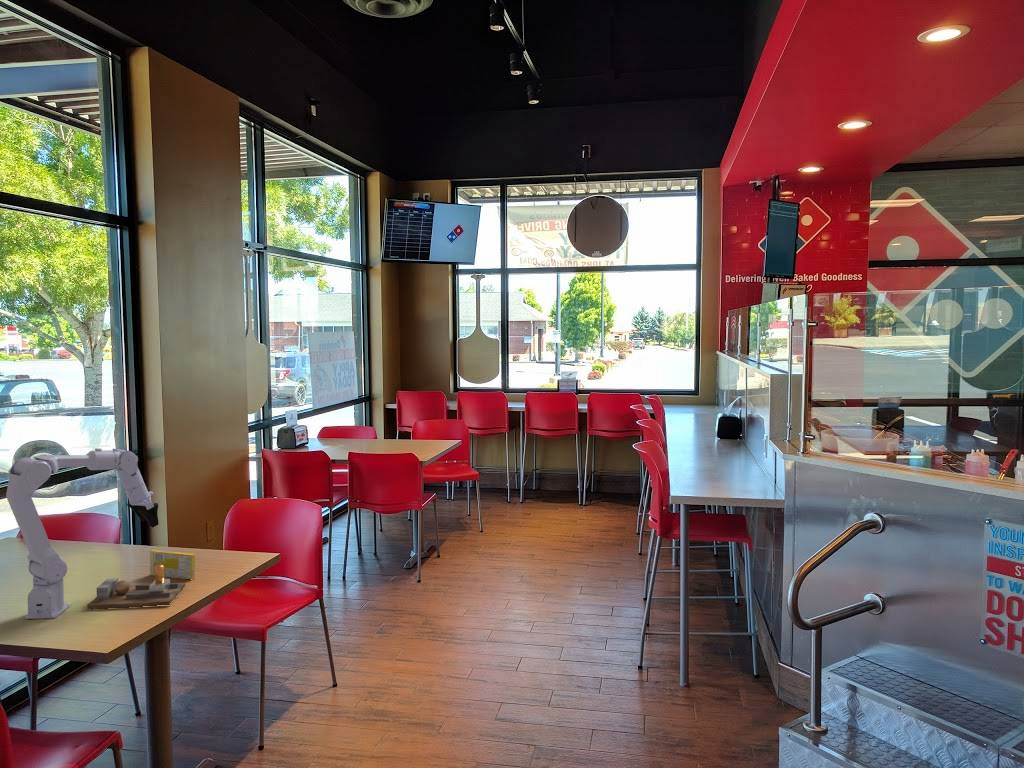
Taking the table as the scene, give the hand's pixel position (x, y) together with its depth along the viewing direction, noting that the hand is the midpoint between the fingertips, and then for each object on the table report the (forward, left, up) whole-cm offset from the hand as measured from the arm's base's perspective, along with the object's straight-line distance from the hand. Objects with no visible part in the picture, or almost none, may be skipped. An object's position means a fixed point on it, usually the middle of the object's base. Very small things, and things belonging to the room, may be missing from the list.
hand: (150, 522), depth 230 cm
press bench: (-14, -1, -19) cm, 24 cm away
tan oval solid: (-14, +4, -16) cm, 21 cm away
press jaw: (-14, -7, -17) cm, 23 cm away
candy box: (+5, -5, -20) cm, 21 cm away
